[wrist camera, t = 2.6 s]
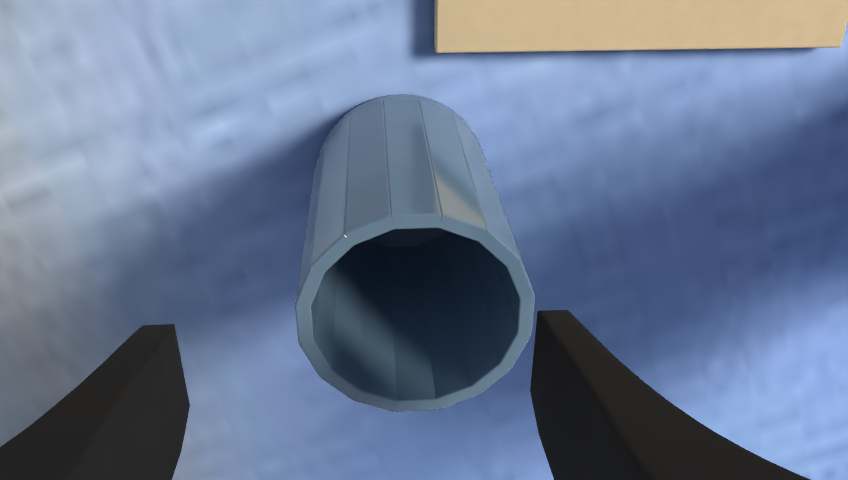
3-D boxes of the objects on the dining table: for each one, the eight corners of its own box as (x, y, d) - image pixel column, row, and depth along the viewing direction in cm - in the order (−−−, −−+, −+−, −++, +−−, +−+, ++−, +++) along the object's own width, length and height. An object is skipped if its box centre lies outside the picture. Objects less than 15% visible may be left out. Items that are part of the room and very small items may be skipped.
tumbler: (487, 92, 23) (543, 210, 16) (480, 245, 25) (525, 406, 18) (310, 95, 22) (285, 217, 15) (321, 250, 25) (305, 416, 18)
